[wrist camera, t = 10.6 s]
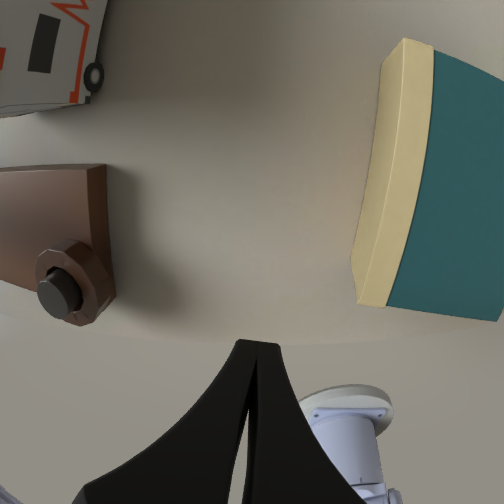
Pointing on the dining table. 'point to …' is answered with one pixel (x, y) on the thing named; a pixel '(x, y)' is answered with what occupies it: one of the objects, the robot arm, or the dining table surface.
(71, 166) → the control box
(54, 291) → the button
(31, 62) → the toy vehicle
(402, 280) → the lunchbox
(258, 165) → the dining table surface
